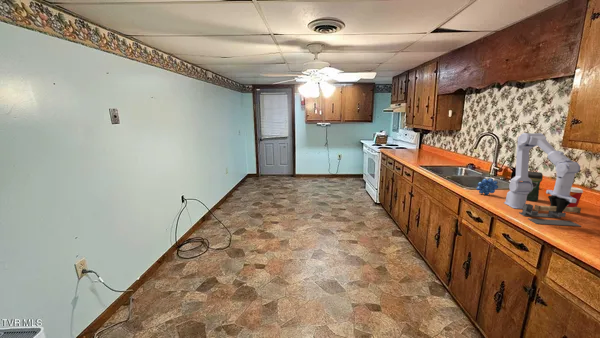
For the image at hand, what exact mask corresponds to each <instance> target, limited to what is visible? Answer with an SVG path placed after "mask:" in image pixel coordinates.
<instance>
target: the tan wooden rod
mask: <svg viewBox="0 0 600 338" xmlns="http://www.w3.org/2000/svg"><path fill="white" fill-rule="evenodd" d="M556 209H557V207H556V206H550V205H538V204H534V206H533V211H538V212H541V211H543V212H545V211H546V212H549V211H556ZM563 212H564V213H566V212H575V213H577V214H581V212H582V208H581V207H578V206H577V207H566V208H565V209H564V210H563Z"/></svg>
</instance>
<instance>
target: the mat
mask: <svg viewBox="0 0 600 338" xmlns="http://www.w3.org/2000/svg"><path fill="white" fill-rule="evenodd" d="M527 220H529V221H530V222H532V223H534V224H535V225H544V226H545V225H549V226H564V227H579V228H580V227H582V225H580V224H579V223H576V222H574V221H571V220H563V219H561V220H560V219H546V218H545V219H544V218H543V219H542V218H527Z"/></svg>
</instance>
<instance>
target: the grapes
mask: <svg viewBox="0 0 600 338" xmlns="http://www.w3.org/2000/svg"><path fill="white" fill-rule="evenodd" d="M475 189H476V190H477V191H478V193H479V195H480V194H481V195H482V194H484V195H485V196H487V195H489V194H494V193H495V192H496V190H497V189H499V185H498V180H494V178H491V177H490V178H488V179H487V178H483V179H482V180H481V181H479V182H478V183H477V187H476V188H475Z"/></svg>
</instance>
